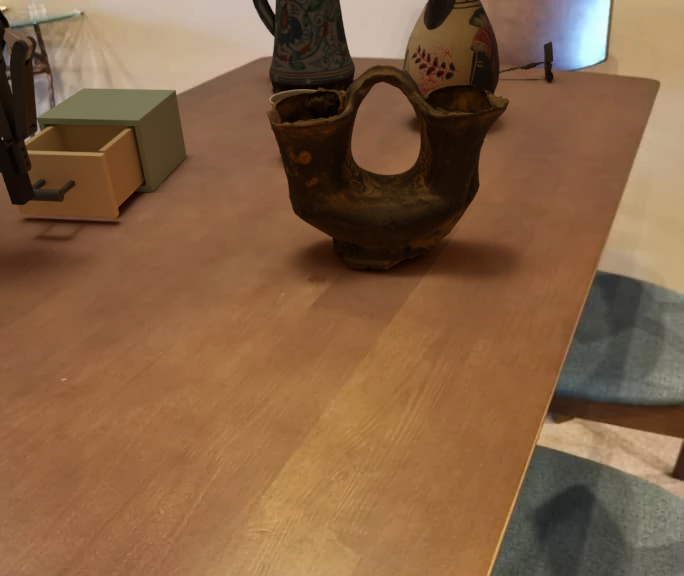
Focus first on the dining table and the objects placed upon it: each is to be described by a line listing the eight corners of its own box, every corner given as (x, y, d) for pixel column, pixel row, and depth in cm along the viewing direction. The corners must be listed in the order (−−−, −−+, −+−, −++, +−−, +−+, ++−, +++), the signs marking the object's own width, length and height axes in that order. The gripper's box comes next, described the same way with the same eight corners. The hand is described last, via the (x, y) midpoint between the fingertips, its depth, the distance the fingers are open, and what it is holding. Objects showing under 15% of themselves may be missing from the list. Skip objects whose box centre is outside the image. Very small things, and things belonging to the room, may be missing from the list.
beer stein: (354, 99, 134) (351, -67, 118) (250, 101, 135) (233, -63, 118) (356, 76, 146) (354, -77, 130) (261, 78, 147) (247, -74, 131)
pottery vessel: (484, 232, 89) (504, 52, 76) (496, 273, 81) (521, 79, 68) (282, 235, 90) (267, 57, 77) (273, 276, 82) (255, 84, 69)
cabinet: (152, 192, 102) (138, 120, 96) (56, 188, 104) (36, 117, 98) (186, 156, 113) (175, 89, 106) (98, 154, 115) (83, 88, 108)
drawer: (100, 234, 89) (83, 170, 84) (0, 229, 91) (-22, 166, 86) (153, 179, 103) (142, 121, 98) (66, 176, 105) (50, 119, 100)
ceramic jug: (448, 105, 130) (461, -106, 110) (512, 125, 120) (540, -102, 101) (374, 125, 122) (375, -98, 102) (438, 148, 113) (452, -93, 93)
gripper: (27, -50, 71) (89, 190, 86) (-93, -48, 73) (-11, 186, 88) (-14, -40, 65) (61, 215, 81) (-142, -38, 67) (-45, 211, 83)
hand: (23, 200), depth 84 cm, fingers closed
